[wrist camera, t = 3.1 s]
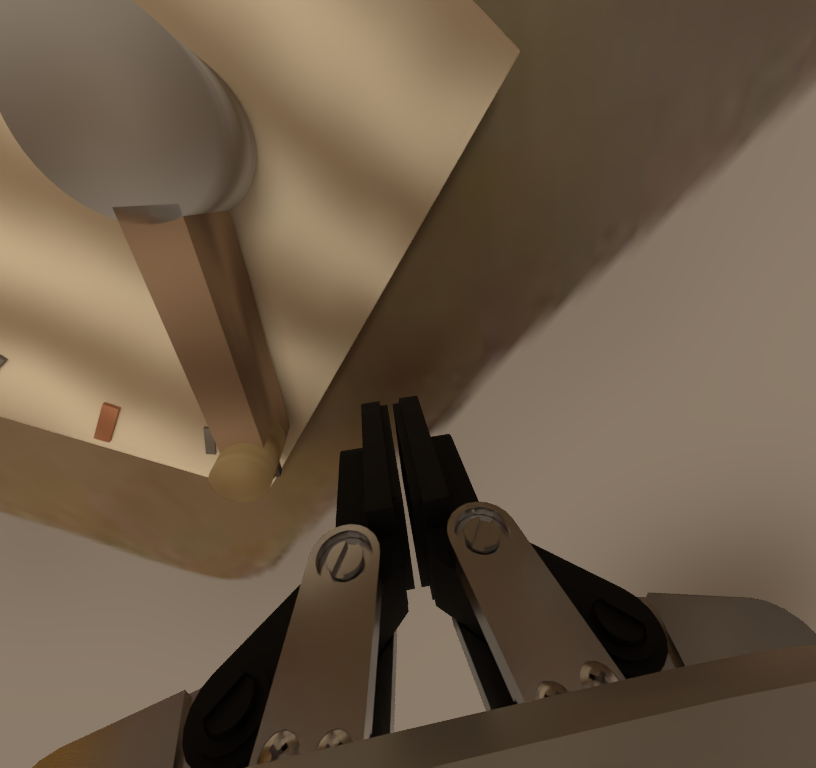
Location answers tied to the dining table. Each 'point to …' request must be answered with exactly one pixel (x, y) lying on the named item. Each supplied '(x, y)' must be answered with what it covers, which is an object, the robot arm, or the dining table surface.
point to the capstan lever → (156, 196)
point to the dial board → (250, 214)
